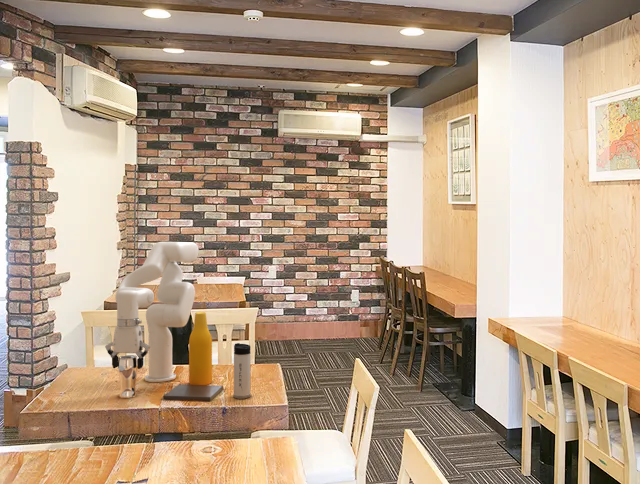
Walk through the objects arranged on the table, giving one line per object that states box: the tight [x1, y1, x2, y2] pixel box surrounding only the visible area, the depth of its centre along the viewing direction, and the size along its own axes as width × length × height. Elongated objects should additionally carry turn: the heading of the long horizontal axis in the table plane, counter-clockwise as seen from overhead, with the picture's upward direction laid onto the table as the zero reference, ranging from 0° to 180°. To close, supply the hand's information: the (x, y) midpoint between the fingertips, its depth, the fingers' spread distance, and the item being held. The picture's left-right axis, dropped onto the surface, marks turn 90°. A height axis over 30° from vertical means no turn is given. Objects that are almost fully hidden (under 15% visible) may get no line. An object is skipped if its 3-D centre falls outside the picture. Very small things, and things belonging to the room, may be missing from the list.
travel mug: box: [233, 342, 252, 400], centre depth 243 cm, size 6×7×20 cm
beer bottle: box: [188, 311, 213, 385], centre depth 261 cm, size 9×9×29 cm
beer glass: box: [117, 354, 139, 399], centre depth 242 cm, size 7×7×15 cm
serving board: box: [162, 383, 224, 402], centre depth 246 cm, size 16×18×2 cm
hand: (127, 367), depth 242 cm, fingers open, 9 cm apart
